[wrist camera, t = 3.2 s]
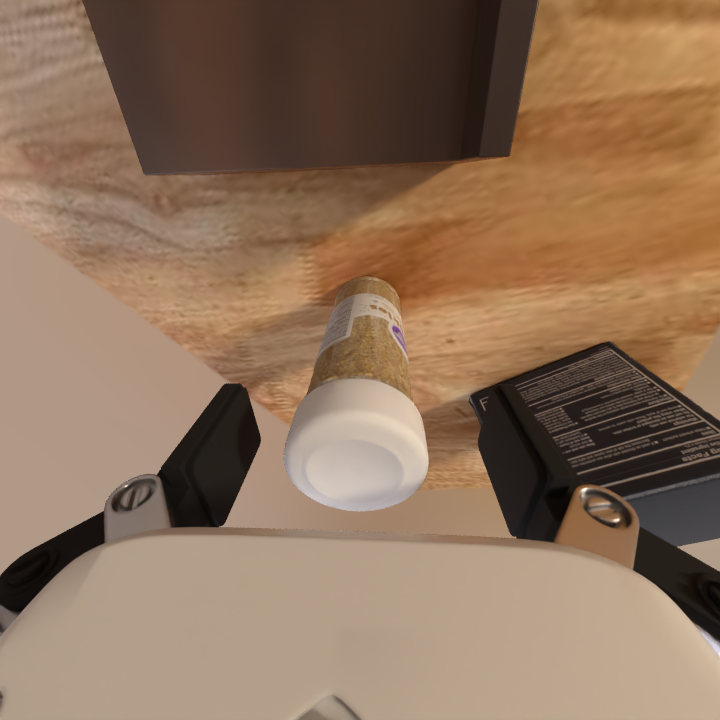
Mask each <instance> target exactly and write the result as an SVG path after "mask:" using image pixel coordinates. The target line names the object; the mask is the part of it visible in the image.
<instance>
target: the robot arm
mask: <svg viewBox="0 0 720 720" xmlns="http://www.w3.org/2000/svg"><path fill="white" fill-rule="evenodd" d="M260 442H261V437H260V433H259V429H258V426H257V422H256V419H255V416H254V412H253V409H252V406H251V402H250V398H249V395H248V392H247V389H246V388H245V387H243V386H242V385H241V384H224V385H223V386H222V388H221V389H220V391H218V393H217V394H216V395H215V397H214V398H213V399H212V401H211V402H210V403H209V405H208V406H207V407H206V409H205V410H204V411H203V413H202V414H201V415H200V417H199V418H198V419H197V421H196V422H195V423H194V425H193V426H192V427H191V429H190V430H189V431H188V433H187V434H186V435H185V436H184V438H183V439H182V440H181V442H180V443H179V444H178V446H177V447H176V448H175V450H174V451H173V452H172V454H171V455H170V456H169V458H168V459H167V461H166V462H165V463H164V464H163V466H162V467H161V470H160V471H159V473H158V474H157V475H155V474H144V475H139V476H137V477H134V478H132V479H130V480H128V481H126V482H124V483H123V484H122V485H120V486H119V487H118V488H116V489H115V490H114V491H113V493H112V494H111V495H110V496H109V498H108V499H107V501H106V503H105V508H104V511H103V512H101V513H99V514H97V515H96V516H93V517H92V518H90V519H88V520H86V521H84V522H82V523H81V524H79V525H77V526H75V527H73V528H71V529H69V530H67V531H66V532H63V533H62V534H60V535H58V536H56V537H54V538H52V539H50V540H49V541H47V542H45V543H43V544H41V545H39V546H37V547H35V548H33V549H32V550H30V551H29V552H27V553H25V554H24V555H22V556H21V557H19V558H18V559H17V560H16V561H14V562H13V563H12V564H11V565H10V566H9V567H8V568H7V569H6V570H5V571H4V572H3V573H2V574H1V576H0V720H720V572H719V571H717V570H716V569H714V568H712V567H710V566H709V565H706V564H705V563H703V562H702V561H700V560H698V559H696V558H695V557H693V556H691V555H689V554H688V553H686V552H684V551H682V550H681V549H679V548H677V547H675V546H674V545H672V544H670V543H668V542H667V541H665V540H663V539H661V538H660V537H658V536H656V535H654V534H653V533H651V532H649V531H647V530H646V529H644V528H642V527H640V524H639V518H638V516H637V514H636V512H635V510H634V509H633V508H632V507H631V505H630V504H629V503H628V502H627V501H625V500H624V499H623V498H622V497H620V496H619V495H618V494H616V493H614V492H612V491H611V490H609V489H606V488H603V487H601V486H597V485H591V484H588V485H584V484H583V482H582V481H581V479H580V478H579V476H578V475H577V473H576V472H575V470H574V469H573V467H572V466H571V464H570V463H569V461H568V460H567V458H566V457H565V455H564V454H563V452H562V451H561V449H560V448H559V446H558V445H557V443H556V442H555V440H554V439H553V437H552V436H551V434H550V433H549V431H548V430H547V429H546V427H545V426H544V424H543V423H542V422H541V421H539V420H537V418H536V417H535V415H534V414H533V412H532V411H531V409H530V408H529V406H528V405H527V403H526V402H525V400H524V399H523V397H522V396H521V394H520V393H519V391H518V390H517V388H516V387H515V385H513V384H497V385H496V386H495V388H491V389H490V392H489V396H488V400H487V404H486V409H485V413H484V417H483V421H482V426H481V430H480V434H479V438H478V447H479V451H480V453H481V456H482V459H483V461H484V464H485V467H486V470H487V472H488V475H489V478H490V480H491V483H492V486H493V489H494V491H495V494H496V496H497V499H498V502H499V505H500V508H501V510H502V513H503V516H504V518H505V521H506V524H507V527H508V529H509V532H510V534H511V535H512V536H516V537H517V539H515V538H497V537H480V536H460V535H459V536H458V535H436V534H410V533H386V532H359V531H330V530H329V531H328V530H301V529H267V528H229V527H219V526H222V525H224V523H225V522H226V520H227V517H228V515H229V513H230V510H231V508H232V506H233V504H234V502H235V499H236V497H237V495H238V493H239V491H240V488H241V486H242V484H243V482H244V479H245V477H246V475H247V472H248V470H249V468H250V466H251V464H252V462H253V459H254V457H255V455H256V453H257V450H258V448H259V446H260Z"/></svg>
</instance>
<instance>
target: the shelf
mask: <svg viewBox="0 0 720 720" xmlns="http://www.w3.org/2000/svg"><path fill="white" fill-rule="evenodd" d="M82 1H83V4H84V6H85V9H86V12H87V15H88V18H89V20H90V23H91V26H92V29H93V32H94V35H95V37H96V40H97V43H98V46H99V49H100V51H101V54H102V57H103V60H104V63H105V65H106V68H107V71H108V74H109V77H110V79H111V82H112V85H113V88H114V91H115V94H116V96H117V99H118V102H119V105H120V108H121V110H122V113H123V116H124V119H125V122H126V124H127V127H128V130H129V133H130V136H131V138H132V141H133V144H134V147H135V150H136V153H137V155H138V158H139V161H140V164H141V167H142V169H143V172H144V174H145V175H219V174H241V173H263V172H286V171H308V170H330V169H352V168H374V167H396V166H418V165H440V164H458V163H465V162H472V161H480V160H487V159H495V158H502V157H508V156H510V152H511V147H512V142H513V136H514V131H515V126H516V120H517V115H518V110H519V105H520V99H521V94H522V89H523V83H524V78H525V73H526V67H527V62H528V57H529V51H530V46H531V41H532V35H533V30H534V25H535V20H536V14H537V9H538V4H539V0H82Z"/></svg>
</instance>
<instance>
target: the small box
mask: <svg viewBox="0 0 720 720" xmlns="http://www.w3.org/2000/svg"><path fill="white" fill-rule="evenodd" d="M502 384H513V385H515V387H516V388H517V390H518V391H519V393H520V394H521V396H522V397H523V399H524V400H525V402H526V403H527V405H528V406H529V408H530V409H531V411H532V412H533V414H534V415H535V417H536V418H537V420H539V421H541V422H542V423H543V424H544V426H545V427H546V429H547V430H548V431H549V433H550V434H551V436H552V437H553V439H554V440H555V442H556V443H557V445H558V446H559V448H560V449H561V451H562V452H563V454H564V455H565V457H566V458H567V460H568V461H569V463H570V464H571V466H572V467H573V469H574V470H575V472H576V473H577V475H578V476H579V478H580V479H581V481H582V482H583V484H584V485H588V484H591V485H597V486H601V487H603V488H606V489H609V490H611V491H612V492H614V493H616V494H618V495H619V496H620V497H622V498H623V499H624V500H625V501H627V502H628V503H629V504H630V505H631V507H632V508H633V509H634V510H635V512H636V514H637V516H638V518H639V524H640V527H642V528H644V529H646V530H647V531H649V532H651V533H653V534H654V535H656V536H658V537H660V538H661V539H663V540H665V541H667V542H668V543H670V544H672V545H674V546H675V547H678V546H682V545H687V544H692V543H697V542H703V541H708V540H713V539H718V538H720V421H719V420H718V419H716V418H715V417H714V416H712V415H711V414H710V413H708V412H706V411H704V410H703V409H702V408H701V407H700V406H698V405H697V404H696V403H694V402H693V401H692V400H690V399H689V398H688V397H686V396H684V395H683V394H682V393H680V392H679V391H677V390H676V389H675V388H673V387H672V386H670V385H669V384H668V383H666V382H665V381H663V380H662V379H661V378H659V377H658V376H657V375H655V374H654V373H652V372H651V371H649V370H648V369H646V368H645V367H644V366H643V365H641V364H640V363H639V362H637V361H636V360H634V359H633V358H631V357H630V356H629V355H627V354H626V353H625V352H623V351H622V350H620V349H619V348H618V347H617V346H616V345H615V344H614V343H612V342H606V343H604V344H601V345H599V346H596V347H594V348H591V349H588V350H586V351H583V352H581V353H578V354H576V355H573V356H570V357H568V358H565V359H563V360H560V361H558V362H555V363H553V364H550V365H548V366H545V367H542V368H540V369H537V370H535V371H532V372H530V373H527V374H524V375H522V376H520V377H517V378H514V379H512V380H509V381H507V382H504V383H502ZM491 388H495V386H494V387H491ZM491 388H489V389H486V390H484V391H481V392H479V393H476V394H474V395H471V396H470V398H469V403H470V404H471V406H472V407H473V408H474V411H475V413H476V415H477V417H478V420H479V422H480V424H481V426H482V421H483V417H484V413H485V409H486V404H487V400H488V396H489V392H490V389H491Z"/></svg>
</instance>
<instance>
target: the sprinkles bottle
mask: <svg viewBox="0 0 720 720" xmlns="http://www.w3.org/2000/svg"><path fill="white" fill-rule="evenodd" d="M334 307H335V308H334V310H333V312H332V314H331V317H330V320H329V323H328V326H327V329H326V332H325V335H324V338H323V341H322V345H321V348H320V351H319V354H318V357H317V359H316V363H315V367H314V373H313V376H312V379H311V383H310V386H309V389H308V392H307V395H306V396H305V397H304V399H303V400H302V401H301V403H300V404H299V406H298V407H297V410H296V412H295V415H294V418H293V421H292V424H291V427H290V431H289V434H288V437H287V440H286V443H285V448H284V465H285V468H286V472H287V474H288V476H289V477H290V479H291V480H292V482H293V483H294V484H295V486H296V487H297V488H298V489H299V490H300V491H302V492H303V493H304V494H306V495H307V496H308V497H310V498H312V499H313V500H315V501H317V502H319V503H321V504H324V505H327V506H330V507H334V508H338V509H343V510H350V511H371V510H378V509H382V508H387V507H390V506H392V505H395V504H398V503H400V502H402V501H404V500H405V499H407V498H408V497H410V496H411V495H412V494H413V493H414V492H416V491H417V490H418V488H419V487H420V486H421V485H422V483H423V481H424V479H425V477H426V474H427V470H428V465H429V461H428V451H427V444H426V437H425V431H424V426H423V421H422V418H421V415H420V413H419V411H418V409H417V408H416V406H415V404H414V403H413V397H412V392H411V383H410V379H409V372H408V364H409V363H408V357H407V351H406V344H405V337H404V330H403V323H402V319H401V316H400V313H401V305H400V299H399V296H398V295H397V293H396V290H395V289H394V288H393V287H392V286H391V285H390V284H389V283H387V282H385V281H383V280H381V279H379V278H377V277H370V276H364V277H358V278H355V279H353V280H351V281H349V282H347V283H346V284H345V285H344V286H343V287H342V288H341V289H340V290H339V292H338V294H337V296H336V299H335V303H334Z"/></svg>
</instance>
